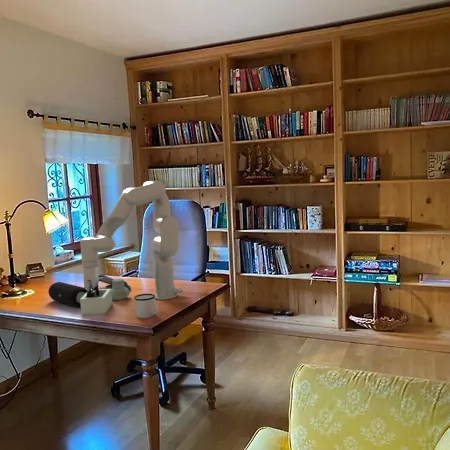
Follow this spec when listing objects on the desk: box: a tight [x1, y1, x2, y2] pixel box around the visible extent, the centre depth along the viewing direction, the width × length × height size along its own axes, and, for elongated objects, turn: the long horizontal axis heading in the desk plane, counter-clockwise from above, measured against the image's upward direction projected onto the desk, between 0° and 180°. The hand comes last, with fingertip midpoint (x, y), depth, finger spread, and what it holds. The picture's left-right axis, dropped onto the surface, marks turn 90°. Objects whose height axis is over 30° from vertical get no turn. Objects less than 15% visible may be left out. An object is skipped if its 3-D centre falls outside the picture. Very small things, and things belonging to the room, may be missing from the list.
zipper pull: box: [98, 274, 131, 291], centre depth 267 cm, size 9×7×25 cm
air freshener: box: [111, 278, 131, 301], centre depth 245 cm, size 11×8×10 cm
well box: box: [80, 288, 113, 317], centre depth 227 cm, size 11×16×8 cm
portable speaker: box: [48, 281, 87, 308], centre depth 241 cm, size 26×10×10 cm, turn 49°
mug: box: [133, 293, 159, 319], centre depth 214 cm, size 12×10×9 cm
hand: (93, 298), depth 227 cm, fingers open, 9 cm apart
